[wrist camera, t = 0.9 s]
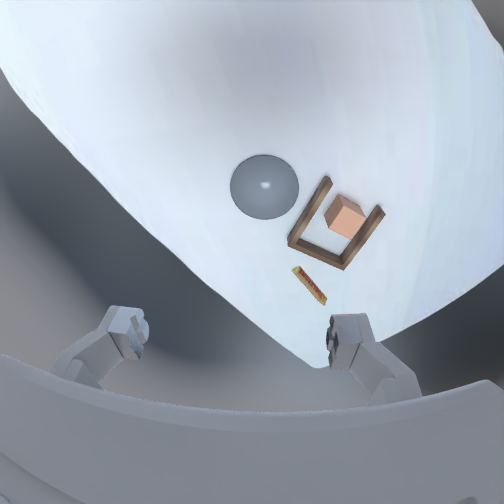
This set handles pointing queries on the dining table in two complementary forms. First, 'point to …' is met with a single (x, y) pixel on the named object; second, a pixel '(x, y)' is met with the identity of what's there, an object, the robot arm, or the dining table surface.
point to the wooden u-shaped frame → (321, 253)
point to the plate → (264, 187)
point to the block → (344, 217)
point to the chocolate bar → (310, 284)
